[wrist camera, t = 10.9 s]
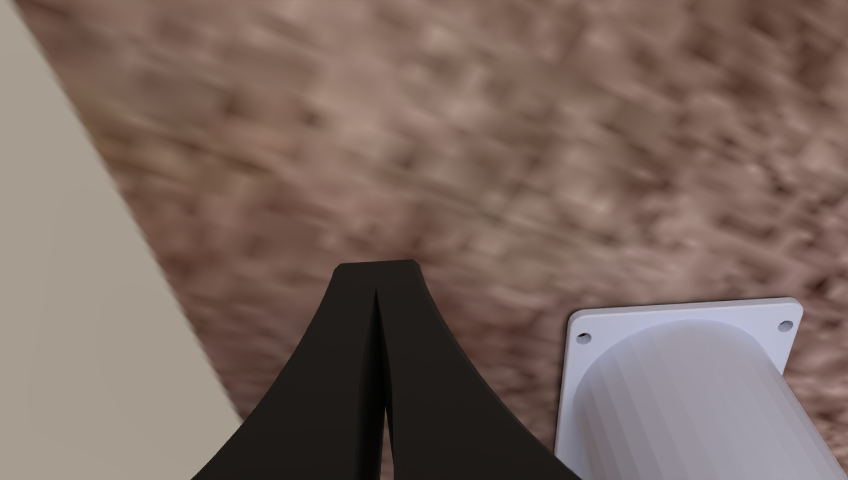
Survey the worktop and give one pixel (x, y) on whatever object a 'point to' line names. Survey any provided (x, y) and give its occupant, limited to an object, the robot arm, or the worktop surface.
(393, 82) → the worktop surface
